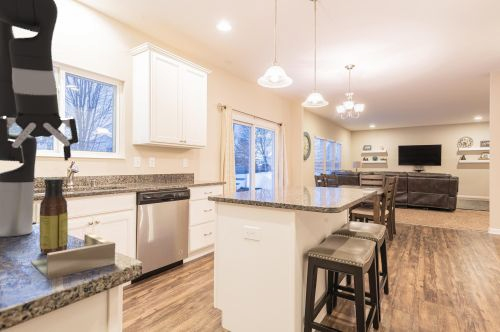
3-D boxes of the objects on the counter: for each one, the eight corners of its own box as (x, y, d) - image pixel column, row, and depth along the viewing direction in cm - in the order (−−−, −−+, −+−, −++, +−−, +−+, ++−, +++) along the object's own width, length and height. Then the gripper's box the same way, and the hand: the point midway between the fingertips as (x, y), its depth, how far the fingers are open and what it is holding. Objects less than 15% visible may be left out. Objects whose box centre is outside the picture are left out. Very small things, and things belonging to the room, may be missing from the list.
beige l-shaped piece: (31, 262, 66) (31, 241, 66) (91, 251, 77) (92, 232, 77) (48, 279, 57) (49, 255, 57) (114, 263, 68) (115, 243, 68)
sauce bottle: (63, 247, 79) (65, 177, 79) (70, 251, 75) (73, 178, 75) (34, 251, 74) (38, 177, 74) (41, 257, 70) (45, 179, 70)
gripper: (73, 91, 68) (78, 154, 73) (-5, 86, 60) (7, 158, 65) (75, 95, 62) (80, 163, 67) (-11, 90, 54) (2, 168, 59)
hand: (44, 161), depth 66 cm, fingers open, 8 cm apart
